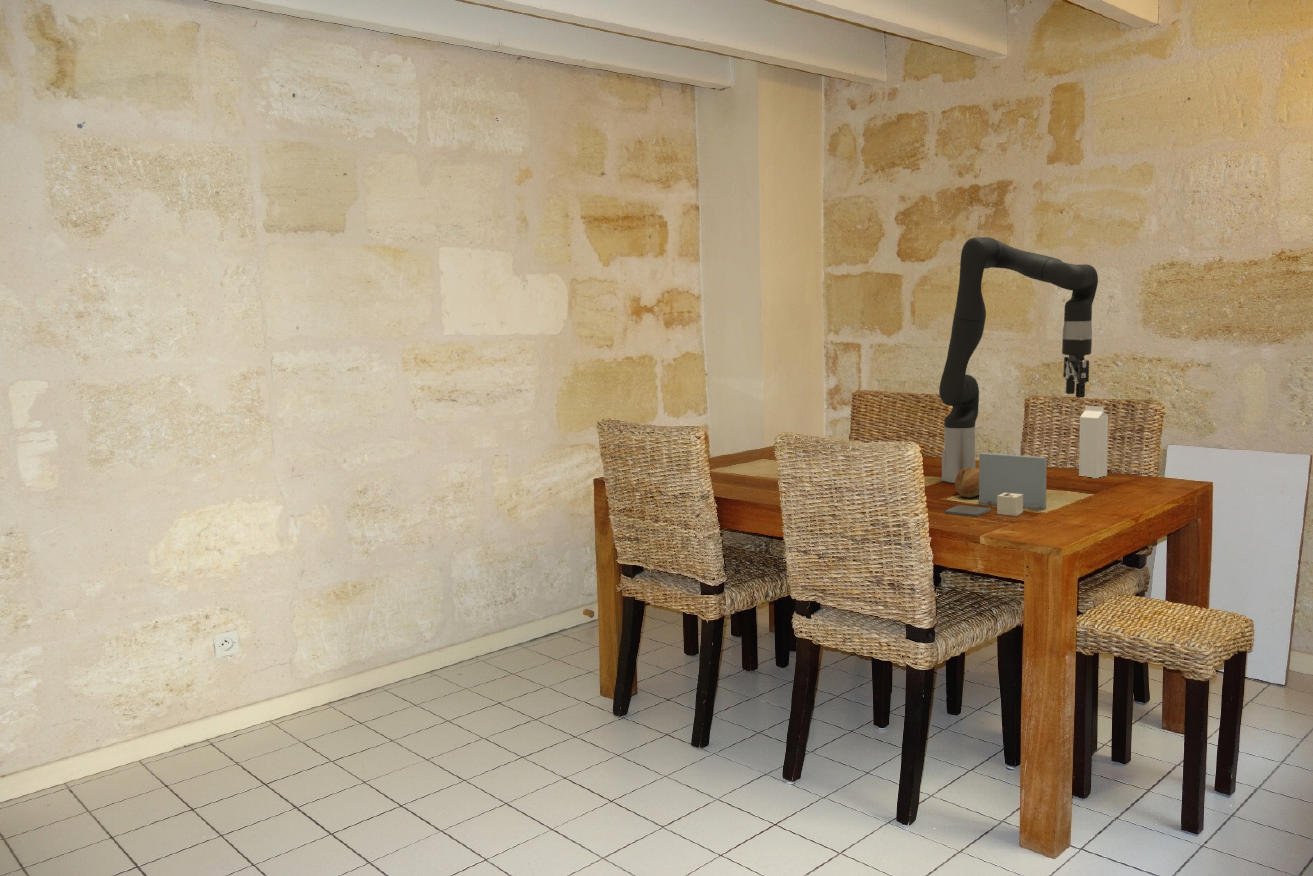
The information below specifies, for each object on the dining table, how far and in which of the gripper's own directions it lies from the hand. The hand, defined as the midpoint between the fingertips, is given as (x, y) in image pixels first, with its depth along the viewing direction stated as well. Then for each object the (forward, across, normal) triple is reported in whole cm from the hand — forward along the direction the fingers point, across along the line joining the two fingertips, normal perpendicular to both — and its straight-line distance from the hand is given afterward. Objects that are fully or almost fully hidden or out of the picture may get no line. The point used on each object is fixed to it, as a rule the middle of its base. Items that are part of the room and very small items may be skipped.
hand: (1075, 395), depth 278 cm
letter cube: (+29, +20, -22) cm, 41 cm away
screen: (+29, +11, -19) cm, 36 cm away
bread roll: (+30, -5, -26) cm, 40 cm away
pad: (+29, +17, -32) cm, 47 cm away
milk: (+29, -30, +16) cm, 44 cm away
